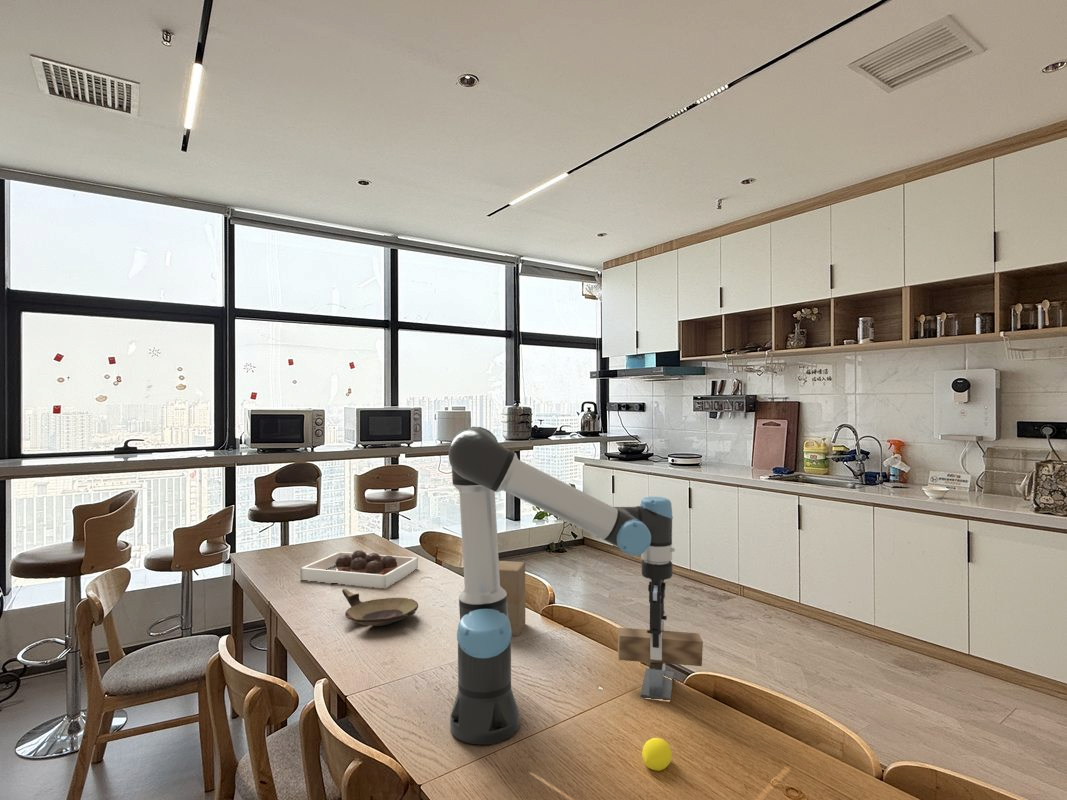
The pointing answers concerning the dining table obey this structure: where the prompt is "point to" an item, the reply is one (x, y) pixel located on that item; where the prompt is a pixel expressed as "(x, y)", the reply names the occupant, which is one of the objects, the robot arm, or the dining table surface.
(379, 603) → the olive brown pan
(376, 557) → the chocolate truffle
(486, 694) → the robot arm
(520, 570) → the wooden block
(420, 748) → the dining table surface
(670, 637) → the walnut bar
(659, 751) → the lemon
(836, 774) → the dining table surface
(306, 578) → the truffle corral
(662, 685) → the fulcrum
